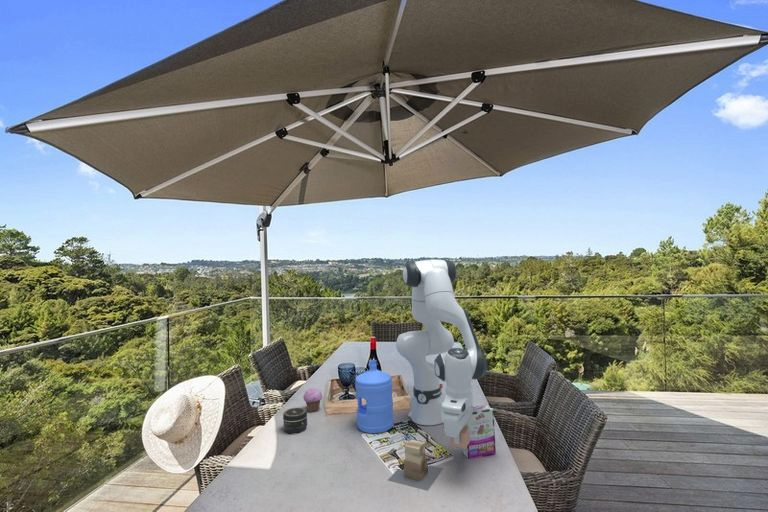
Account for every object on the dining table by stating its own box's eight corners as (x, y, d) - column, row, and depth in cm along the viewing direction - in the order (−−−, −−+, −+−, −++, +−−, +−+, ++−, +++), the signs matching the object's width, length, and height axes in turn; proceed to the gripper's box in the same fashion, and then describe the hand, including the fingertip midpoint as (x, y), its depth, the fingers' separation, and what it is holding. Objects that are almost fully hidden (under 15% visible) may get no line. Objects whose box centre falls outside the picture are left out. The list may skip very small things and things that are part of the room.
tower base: (411, 467, 141) (410, 453, 141) (427, 471, 138) (427, 456, 138) (404, 476, 136) (403, 461, 136) (420, 480, 133) (420, 465, 133)
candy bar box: (489, 448, 153) (487, 404, 153) (496, 454, 149) (494, 409, 148) (461, 453, 150) (459, 408, 150) (467, 460, 146) (466, 413, 145)
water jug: (395, 418, 183) (392, 355, 183) (392, 434, 168) (389, 365, 167) (360, 418, 185) (357, 356, 184) (354, 434, 169) (351, 366, 169)
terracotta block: (455, 438, 143) (455, 424, 143) (469, 441, 141) (469, 427, 140) (450, 445, 139) (450, 430, 138) (465, 448, 136) (465, 433, 136)
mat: (405, 460, 147) (405, 459, 147) (443, 469, 140) (443, 468, 140) (387, 481, 134) (387, 480, 134) (427, 491, 128) (427, 490, 128)
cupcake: (302, 408, 199) (301, 388, 199) (319, 405, 203) (318, 384, 202) (306, 415, 191) (305, 393, 191) (325, 411, 195) (324, 390, 194)
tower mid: (411, 454, 140) (411, 439, 140) (425, 457, 138) (424, 442, 138) (405, 461, 136) (404, 446, 136) (419, 464, 134) (418, 449, 134)
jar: (294, 436, 169) (293, 418, 169) (278, 431, 175) (277, 413, 175) (312, 427, 177) (311, 410, 177) (296, 422, 183) (295, 405, 183)
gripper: (459, 386, 149) (460, 423, 150) (439, 408, 131) (441, 450, 132) (477, 388, 146) (477, 427, 147) (459, 411, 128) (460, 455, 129)
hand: (460, 438), depth 139 cm, fingers closed on terracotta block, 5 cm apart
